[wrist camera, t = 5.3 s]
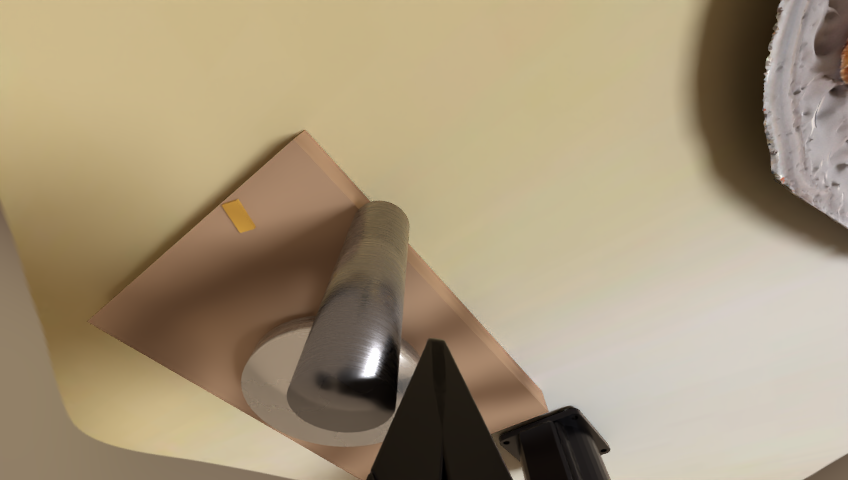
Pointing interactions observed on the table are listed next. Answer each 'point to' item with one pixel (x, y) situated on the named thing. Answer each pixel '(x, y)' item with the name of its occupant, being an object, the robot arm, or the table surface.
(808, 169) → the food plate
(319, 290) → the stand base
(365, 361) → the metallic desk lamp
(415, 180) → the table surface
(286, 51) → the table surface
